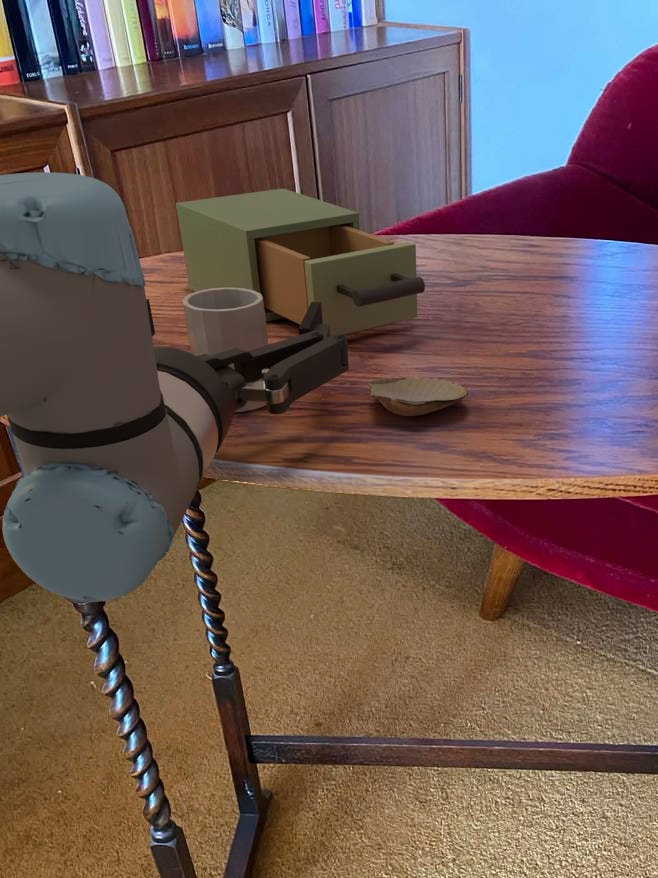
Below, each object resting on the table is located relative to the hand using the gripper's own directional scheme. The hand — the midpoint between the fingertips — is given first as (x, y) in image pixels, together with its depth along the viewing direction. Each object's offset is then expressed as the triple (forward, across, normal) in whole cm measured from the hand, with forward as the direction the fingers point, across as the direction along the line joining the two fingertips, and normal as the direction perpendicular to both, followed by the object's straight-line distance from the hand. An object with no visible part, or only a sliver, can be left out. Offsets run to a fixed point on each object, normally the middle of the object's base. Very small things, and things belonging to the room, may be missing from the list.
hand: (232, 317), depth 77 cm
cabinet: (+26, -2, -6) cm, 27 cm away
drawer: (+17, +6, -5) cm, 19 cm away
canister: (-2, 0, -6) cm, 6 cm away
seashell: (-4, +15, -6) cm, 16 cm away
